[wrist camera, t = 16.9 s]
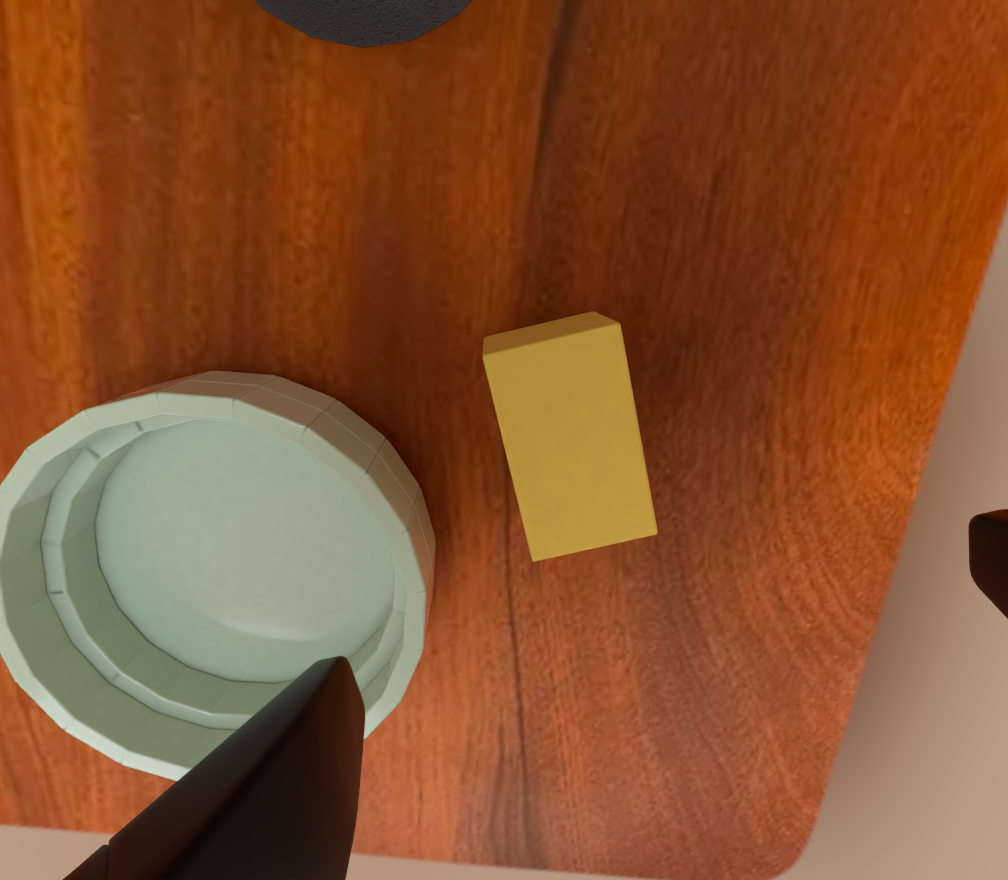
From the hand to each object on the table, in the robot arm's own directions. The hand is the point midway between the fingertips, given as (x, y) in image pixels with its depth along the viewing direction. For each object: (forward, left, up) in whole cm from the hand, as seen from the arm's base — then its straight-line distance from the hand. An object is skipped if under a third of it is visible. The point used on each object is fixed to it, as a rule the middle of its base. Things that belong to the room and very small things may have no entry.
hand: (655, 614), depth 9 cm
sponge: (0, 0, -12) cm, 12 cm away
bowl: (-2, +11, -12) cm, 16 cm away
